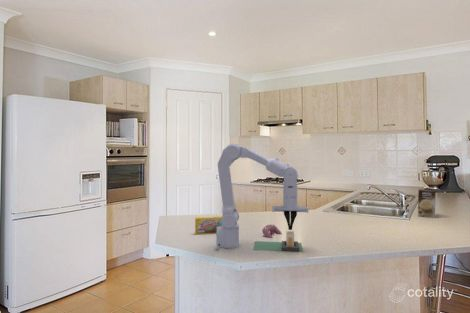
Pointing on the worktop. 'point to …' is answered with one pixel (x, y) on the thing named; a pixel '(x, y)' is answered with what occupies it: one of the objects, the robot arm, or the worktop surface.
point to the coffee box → (426, 203)
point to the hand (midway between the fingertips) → (290, 229)
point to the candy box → (207, 225)
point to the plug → (289, 238)
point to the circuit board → (271, 246)
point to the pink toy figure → (270, 228)
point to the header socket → (290, 249)
